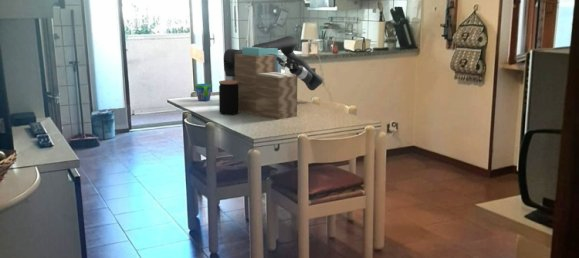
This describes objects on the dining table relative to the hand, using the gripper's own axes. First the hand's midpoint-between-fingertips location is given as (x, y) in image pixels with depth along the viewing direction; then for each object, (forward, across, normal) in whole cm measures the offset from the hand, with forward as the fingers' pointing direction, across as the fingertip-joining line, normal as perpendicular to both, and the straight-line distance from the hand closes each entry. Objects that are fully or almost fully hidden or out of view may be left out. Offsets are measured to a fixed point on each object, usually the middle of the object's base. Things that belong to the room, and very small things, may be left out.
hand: (282, 58), depth 332 cm
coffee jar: (+17, -4, +44) cm, 47 cm away
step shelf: (+4, +9, +36) cm, 37 cm away
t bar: (+14, 0, +5) cm, 15 cm away
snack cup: (+3, -50, +35) cm, 61 cm away
